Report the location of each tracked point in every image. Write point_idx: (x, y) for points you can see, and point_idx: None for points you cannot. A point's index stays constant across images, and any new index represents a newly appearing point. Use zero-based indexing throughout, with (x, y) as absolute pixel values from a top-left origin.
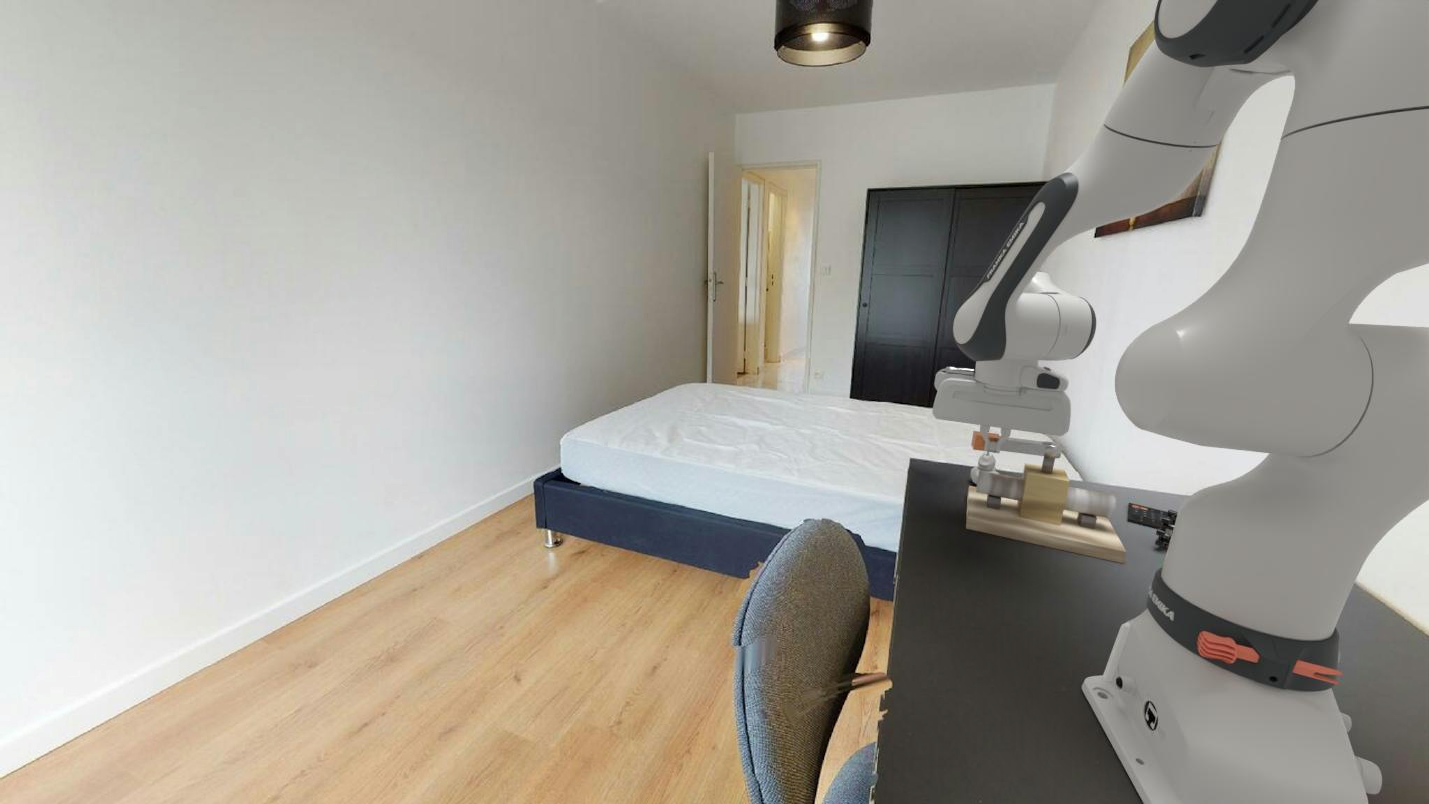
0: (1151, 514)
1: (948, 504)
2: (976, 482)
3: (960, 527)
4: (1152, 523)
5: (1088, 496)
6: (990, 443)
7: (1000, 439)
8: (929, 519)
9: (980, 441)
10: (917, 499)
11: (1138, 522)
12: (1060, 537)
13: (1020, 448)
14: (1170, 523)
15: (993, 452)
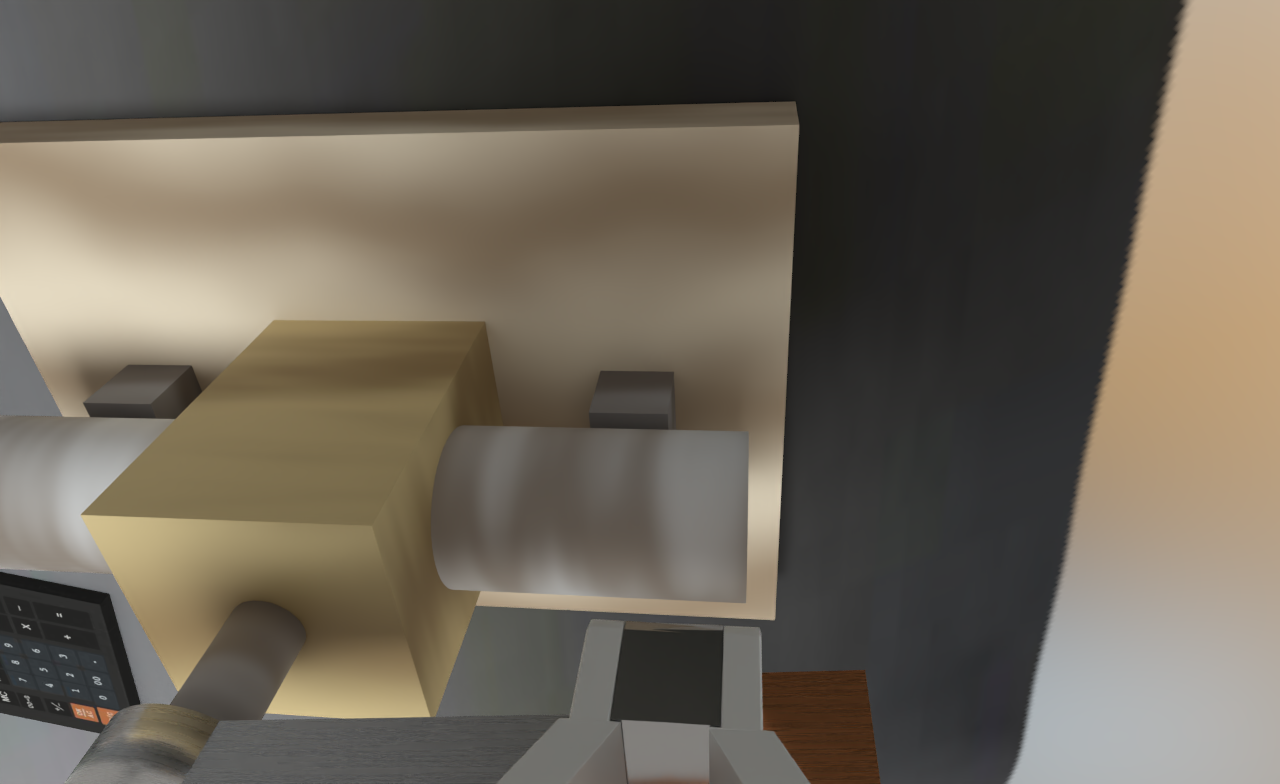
0: (49, 675)
1: (888, 415)
2: None
3: (831, 100)
4: (19, 600)
5: (57, 490)
6: (698, 711)
7: (574, 776)
8: (1046, 114)
9: (810, 772)
10: (1089, 398)
11: (65, 593)
12: (235, 142)
13: (398, 763)
14: None
15: (654, 626)
